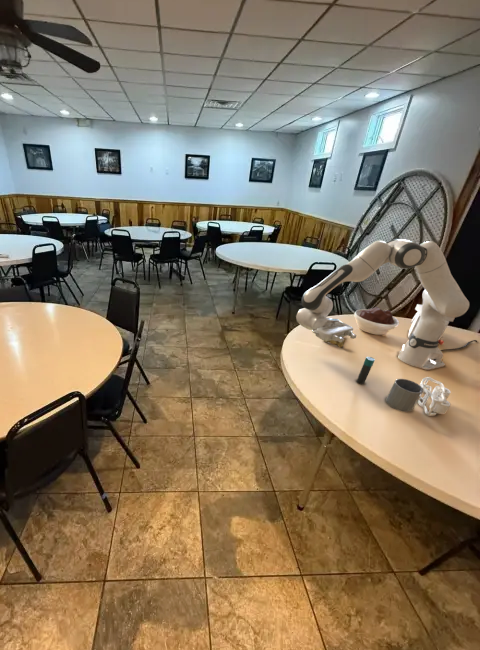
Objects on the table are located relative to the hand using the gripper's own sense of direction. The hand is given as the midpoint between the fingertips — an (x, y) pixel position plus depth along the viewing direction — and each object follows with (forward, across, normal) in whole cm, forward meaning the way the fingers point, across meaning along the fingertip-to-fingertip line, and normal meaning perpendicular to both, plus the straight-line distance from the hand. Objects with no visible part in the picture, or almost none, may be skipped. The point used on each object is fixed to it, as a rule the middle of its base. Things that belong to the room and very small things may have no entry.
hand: (349, 338), depth 144 cm
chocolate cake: (-22, +62, +16) cm, 68 cm away
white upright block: (-4, +90, +16) cm, 92 cm away
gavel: (-22, +30, +17) cm, 40 cm away
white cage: (+36, +13, +17) cm, 42 cm away
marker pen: (+12, 0, +16) cm, 21 cm away
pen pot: (+30, 0, +16) cm, 34 cm away
